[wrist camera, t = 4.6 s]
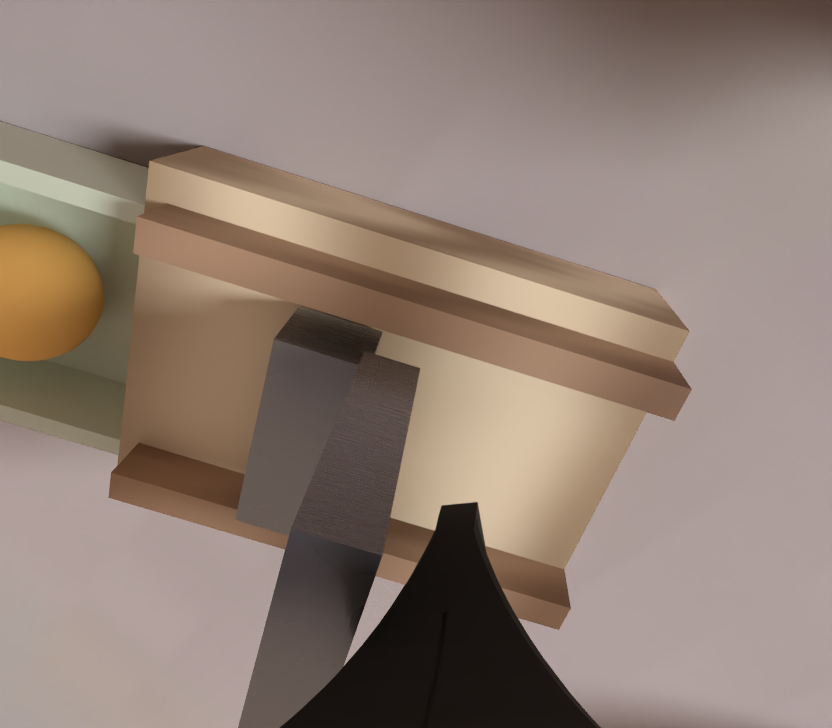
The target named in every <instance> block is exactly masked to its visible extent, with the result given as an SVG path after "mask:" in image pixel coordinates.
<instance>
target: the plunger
mask: <svg viewBox="0 0 832 728" xmlns="http://www.w3.org/2000/svg"><path fill="white" fill-rule="evenodd" d="M382 333H383V332H382V331H379V330H376V329H372V328H369V327H366V326H363V325H360V324H356V323H353V322H350V321H347V320H343V319H340V318H337V317H334V316H330V315H327V314H324V313H321V312H318V311H314V310H311V309H308V308H305V307H301V306H299V307H298V308H297V310H296V311H295V312H294V313H293V315H292V316H291V317H290V319H289V320H288V321H287V323H286V324H285V325H284V326H283V328H282V329H281V330H280V332H279V333H278V334H277V336H276V337H275V338H274V340H273V345H272V349H271V354H270V359H269V364H268V368H267V373H266V378H265V382H264V387H263V392H262V396H261V401H260V406H259V410H258V415H257V420H256V424H255V429H254V434H253V438H252V443H251V448H250V453H249V457H248V462H247V467H246V471H245V476H244V481H243V485H242V490H241V495H240V499H239V504H238V509H237V513H236V518H235V520H237V521H241V522H244V523H248V524H251V525H254V526H258V527H261V528H265V529H268V530H271V531H275V532H278V533H282V534H285V535H288V536H289V537H288V541H287V545H286V549H285V553H284V556H283V560H282V564H281V568H280V571H279V575H278V579H277V583H276V587H275V590H274V594H273V598H272V602H271V605H270V609H269V613H268V617H267V621H266V624H265V628H264V632H263V636H262V639H261V643H260V647H259V651H258V655H257V658H256V662H255V666H254V670H253V673H252V677H251V681H250V685H249V689H248V692H247V696H246V700H245V704H244V707H243V711H242V715H241V719H240V723H239V726H238V728H280V727H281V726H282V725H283V724H284V723H286V722H287V721H288V720H289V719H290V718H292V717H293V716H294V715H295V714H296V713H297V712H298V711H299V710H301V709H302V708H303V707H304V706H305V705H306V704H307V703H308V702H309V701H310V700H311V699H312V698H313V697H314V696H315V695H316V694H317V693H319V692H320V691H321V690H322V689H323V688H324V687H325V686H326V685H327V684H328V683H329V682H330V681H331V680H332V679H333V678H334V676H335V675H336V674H337V673H338V672H339V671H340V670H341V669H342V668H343V666H344V663H345V660H346V657H347V654H348V651H349V649H350V646H351V643H352V640H353V637H354V635H355V632H356V629H357V626H358V623H359V620H360V618H361V615H362V612H363V609H364V606H365V604H366V601H367V598H368V595H369V592H370V589H371V587H372V584H373V581H374V578H375V575H376V573H377V570H378V567H379V564H380V561H381V558H382V555H383V551H384V546H385V541H386V536H387V531H388V526H389V521H390V516H391V511H392V506H393V501H394V496H395V491H396V486H397V481H398V476H399V471H400V467H401V462H402V457H403V452H404V447H405V442H406V437H407V432H408V427H409V422H410V417H411V412H412V407H413V402H414V397H415V392H416V387H417V383H418V378H419V373H420V368H418V367H415V366H412V365H408V364H405V363H402V362H399V361H396V360H392V359H389V358H386V357H383V356H379V355H376V353H377V350H378V346H379V343H380V340H381V336H382Z"/></svg>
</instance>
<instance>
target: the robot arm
mask: <svg viewBox="0 0 832 728" xmlns="http://www.w3.org/2000/svg"><path fill="white" fill-rule="evenodd" d="M280 728H600V726H599V725H598V724H597V723H596V722H595V721H594V720H593V719H592V718H591V717H590V716H589V715H588V713H587V712H586V711H585V710H584V709H583V708H582V706H581V705H580V704H579V703H578V702H577V701H576V699H575V698H574V697H573V696H572V695H571V694H570V692H569V691H568V690H567V688H566V687H565V686H564V684H563V683H562V682H561V681H560V679H559V678H558V677H557V675H556V674H555V673H554V671H553V670H552V669H551V667H550V666H549V665H548V663H547V662H546V661H545V660H544V658H543V657H542V655H541V654H540V652H539V651H538V649H537V648H536V646H535V645H534V643H533V642H532V640H531V639H530V637H529V636H528V634H527V633H526V631H525V629H524V628H523V626H522V624H521V623H520V621H519V619H518V618H517V616H516V614H515V613H514V611H513V609H512V607H511V605H510V603H509V601H508V600H507V598H506V596H505V594H504V592H503V590H502V588H501V586H500V584H499V581H498V579H497V577H496V575H495V573H494V570H493V568H492V565H491V563H490V560H489V558H488V556H487V552H486V547H485V541H484V535H483V530H482V524H481V519H480V513H479V507H478V502H472V503H461V504H451V505H442V506H441V509H440V513H439V516H438V520H437V525H436V529H435V531H434V533H433V535H432V537H431V539H430V541H429V543H428V545H427V547H426V549H425V551H424V553H423V555H422V556H421V558H420V560H419V562H418V564H417V565H416V567H415V569H414V571H413V573H412V574H411V576H410V578H409V579H408V581H407V583H406V584H405V586H404V587H403V589H402V590H401V592H400V594H399V595H398V597H397V598H396V600H395V601H394V603H393V604H392V606H391V608H390V609H389V610H388V612H387V613H386V615H385V616H384V617H383V619H382V620H381V622H380V623H379V624H378V626H377V627H376V628H375V630H374V631H373V632H372V633H371V635H370V636H369V637H368V639H367V640H366V641H365V642H364V644H363V645H362V646H361V647H360V648H359V650H358V651H357V652H356V653H355V654H354V655H353V656H352V658H351V659H350V660H349V661H348V662H347V663H346V664H345V666H344V667H343V668H342V669H341V670H340V671H339V672H338V673H337V674H336V675H335V676H334V678H333V679H332V680H331V681H330V682H329V683H328V684H327V685H326V686H325V687H324V688H323V689H322V690H321V691H320V692H319V693H317V694H316V695H315V696H314V697H313V698H312V699H311V700H310V701H309V702H308V703H307V704H306V705H305V706H304V707H303V708H302V709H301V710H299V711H298V712H297V713H296V714H295V715H294V716H293V717H292V718H290V719H289V720H288V721H287V722H286V723H284V724H283V725H282V726H281V727H280Z"/></svg>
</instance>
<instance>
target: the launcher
mask: <svg viewBox="0 0 832 728" xmlns="http://www.w3.org/2000/svg"><path fill="white" fill-rule="evenodd" d="M133 253H134V254H137V255H140V256H139V265H138V275H137V284H136V294H135V303H134V313H133V322H132V332H131V342H130V351H129V361H128V370H127V380H126V389H125V399H124V408H123V418H122V427H121V437H120V447H119V456H118V466H117V467H116V468H115V469H114V470H113V471H112V472H111V479H110V489H109V498H112V499H115V500H119V501H122V502H126V503H129V504H132V505H136V506H139V507H143V508H146V509H149V510H153V511H156V512H160V513H163V514H166V515H170V516H173V517H177V518H180V519H183V520H187V521H190V522H194V523H197V524H200V525H204V526H207V527H211V528H214V529H217V530H221V531H224V532H228V533H231V534H234V535H238V536H241V537H245V538H248V539H251V540H255V541H258V542H262V543H265V544H268V545H272V546H275V547H279V548H282V549H286V545H287V541H288V537H289V536H288V535H285V534H282V533H278V532H275V531H271V530H268V529H265V528H261V527H258V526H254V525H251V524H248V523H244V522H241V521H237V520H235V518H236V513H237V509H238V504H239V499H240V495H241V490H242V485H243V481H244V476H245V471H246V467H247V462H248V457H249V453H250V448H251V443H252V438H253V434H254V429H255V424H256V420H257V415H258V410H259V406H260V401H261V396H262V392H263V387H264V382H265V378H266V373H267V368H268V364H269V359H270V354H271V349H272V345H273V340H274V338H275V337H276V336H277V334H278V333H279V332H280V330H281V329H282V328H283V326H284V325H285V324H286V323H287V321H288V320H289V319H290V317H291V316H292V315H293V313H294V312H295V311H296V310H297V308H298V307H299V306H301V307H305V308H308V309H311V310H314V311H318V312H321V313H324V314H327V315H330V316H334V317H337V318H340V319H343V320H347V321H350V322H353V323H356V324H360V325H363V326H366V327H369V328H372V329H376V330H379V331H382V332H383V333H382V336H381V340H380V343H379V346H378V350H377V353H376V355H379V356H383V357H386V358H389V359H392V360H396V361H399V362H402V363H405V364H408V365H412V366H415V367H418V368H420V373H419V378H418V383H417V387H416V392H415V397H414V402H413V407H412V412H411V417H410V422H409V427H408V432H407V437H406V442H405V447H404V452H403V457H402V462H401V467H400V471H399V476H398V481H397V486H396V491H395V496H394V501H393V506H392V511H391V516H390V521H389V526H388V531H387V536H386V541H385V546H384V551H383V555H382V558H381V561H380V564H379V567H378V570H377V573H376V575H375V576H377V577H381V578H384V579H388V580H391V581H394V582H398V583H401V584H406V583H407V581H408V579H409V578H410V576H411V574H412V573H413V571H414V569H415V567H416V565H417V564H418V562H419V560H420V558H421V556H422V555H423V553H424V551H425V549H426V547H427V545H428V543H429V541H430V539H431V537H432V535H433V533H434V531H435V529H436V525H437V520H438V516H439V513H440V509H441V506H442V505H451V504H461V503H472V502H478V507H479V513H480V519H481V524H482V530H483V535H484V541H485V547H486V552H487V556H488V558H489V560H490V563H491V565H492V568H493V570H494V573H495V575H496V577H497V579H498V581H499V584H500V586H501V588H502V590H503V592H504V594H505V596H506V598H507V600H508V601H509V603H510V605H511V607H512V609H513V611H514V613H515V614H516V616H517V618H520V619H524V620H527V621H530V622H534V623H537V624H541V625H544V626H548V627H551V628H554V629H558V630H559V629H560V627H561V625H562V623H563V621H564V619H565V618H566V616H567V614H568V612H569V610H570V609H571V607H570V601H569V595H568V589H567V583H566V578H565V572H564V569H565V567H566V565H567V563H568V561H569V559H570V557H571V555H572V553H573V552H574V550H575V548H576V546H577V544H578V542H579V540H580V538H581V536H582V534H583V533H584V531H585V529H586V527H587V525H588V523H589V521H590V519H591V517H592V515H593V514H594V512H595V510H596V508H597V506H598V504H599V502H600V500H601V498H602V496H603V495H604V493H605V491H606V489H607V487H608V485H609V483H610V481H611V479H612V477H613V476H614V474H615V472H616V470H617V468H618V466H619V464H620V462H621V460H622V459H623V457H624V455H625V453H626V451H627V449H628V447H629V445H630V443H631V441H632V440H633V438H634V436H635V434H636V432H637V430H638V428H639V426H640V424H641V422H642V421H643V419H644V417H645V415H646V413H647V412H648V413H651V414H654V415H658V416H661V417H664V418H667V419H670V420H675V419H676V417H677V415H678V413H679V411H680V410H681V408H682V406H683V404H684V402H685V401H686V399H687V397H688V395H689V393H690V391H691V390H692V389H691V388H690V386H689V385H688V383H687V382H686V380H685V379H684V377H683V376H682V374H681V373H680V371H679V370H678V368H677V367H676V365H675V364H674V360H675V358H676V356H677V354H678V352H679V350H680V348H681V346H682V345H683V343H684V341H685V339H686V337H687V335H688V333H689V330H688V329H687V327H686V326H685V325H684V324H683V322H682V321H681V320H680V319H679V317H678V316H677V315H676V314H675V312H674V311H673V310H672V309H671V307H670V306H669V305H668V304H667V302H666V301H665V300H664V299H663V297H662V296H661V295H660V294H659V292H658V291H657V290H656V289H653V288H649V287H646V286H643V285H640V284H637V283H634V282H630V281H627V280H624V279H621V278H618V277H615V276H612V275H608V274H605V273H602V272H599V271H596V270H593V269H590V268H586V267H583V266H580V265H577V264H574V263H571V262H568V261H564V260H561V259H558V258H555V257H552V256H549V255H545V254H542V253H539V252H536V251H533V250H530V249H527V248H523V247H520V246H517V245H514V244H511V243H508V242H505V241H501V240H498V239H495V238H492V237H489V236H486V235H482V234H479V233H476V232H473V231H470V230H467V229H464V228H460V227H457V226H454V225H451V224H448V223H445V222H442V221H438V220H435V219H432V218H429V217H426V216H423V215H420V214H416V213H413V212H410V211H407V210H404V209H401V208H397V207H394V206H391V205H388V204H385V203H382V202H379V201H375V200H372V199H369V198H366V197H363V196H360V195H357V194H353V193H350V192H347V191H344V190H341V189H338V188H335V187H331V186H328V185H325V184H322V183H319V182H316V181H312V180H309V179H306V178H303V177H300V176H297V175H294V174H290V173H287V172H284V171H281V170H278V169H275V168H272V167H268V166H265V165H262V164H259V163H256V162H253V161H249V160H246V159H243V158H240V157H237V156H234V155H231V154H227V153H224V152H221V151H218V150H215V149H212V148H209V147H205V146H202V147H198V148H194V149H191V150H187V151H183V152H180V153H176V154H172V155H169V156H165V157H161V158H158V159H154V160H150V161H149V170H148V179H147V189H146V198H145V208H144V214H141V215H139V216H137V219H136V229H135V239H134V249H133Z"/></svg>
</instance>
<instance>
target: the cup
mask: <svg viewBox="0 0 832 728" xmlns="http://www.w3.org/2000/svg"><path fill="white" fill-rule="evenodd" d="M148 170H149V168H147V167H144V166H141V165H138V164H134V163H131V162H128V161H125V160H122V159H118V158H115V157H112V156H109V155H106V154H103V153H99V152H96V151H93V150H90V149H87V148H84V147H80V146H77V145H74V144H71V143H68V142H65V141H61V140H58V139H55V138H52V137H49V136H45V135H42V134H39V133H36V132H33V131H30V130H26V129H23V128H20V127H17V126H14V125H11V124H7V123H4V122H1V121H0V226H2V225H7V224H31V225H37V226H42V227H46V228H49V229H52V230H54V231H56V232H59V233H61V234H63V235H65V236H66V237H68V238H70V239H71V240H73V241H74V242H75V243H77V244H78V245H79V246H80V247H81V248H82V249H84V251H85V252H86V253H87V254H88V255H89V256H90V258H91V259H92V260H93V262H94V264H95V265H96V267H97V269H98V271H99V274H100V276H101V280H102V283H103V289H104V303H103V309H102V313H101V316H100V319H99V321H98V323H97V325H96V327H95V328H94V330H93V331H92V332H91V334H90V335H89V336H88V337H87V338H86V339H85V340H84V341H83V342H82V343H81V344H80V345H78V346H77V347H75V348H74V349H72V350H71V351H69V352H66V353H64V354H62V355H60V356H57V357H54V358H50V359H46V360H40V361H17V360H11V359H7V358H3V357H0V420H2V421H5V422H8V423H12V424H15V425H19V426H22V427H25V428H29V429H32V430H35V431H39V432H42V433H45V434H49V435H52V436H56V437H59V438H62V439H66V440H69V441H72V442H76V443H79V444H83V445H86V446H89V447H93V448H96V449H99V450H103V451H106V452H110V453H113V454H116V455H119V447H120V437H121V427H122V418H123V408H124V399H125V389H126V380H127V370H128V361H129V351H130V342H131V332H132V322H133V313H134V303H135V294H136V284H137V275H138V265H139V256H140V255H137V254H134V253H133V249H134V239H135V229H136V219H137V216H139V215H141V214H144V208H145V198H146V189H147V179H148Z"/></svg>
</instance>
